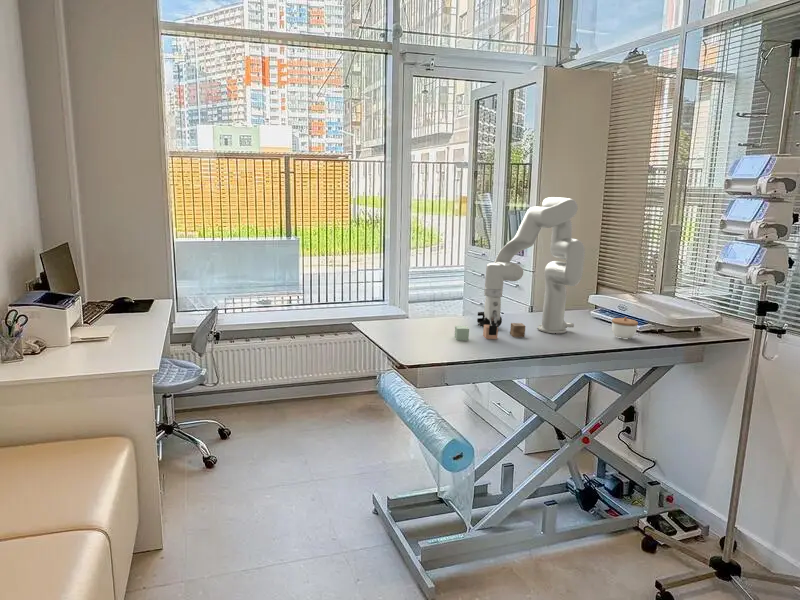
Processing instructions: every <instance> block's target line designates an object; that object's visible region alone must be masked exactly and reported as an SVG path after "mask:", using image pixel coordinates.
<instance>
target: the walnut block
mask: <svg viewBox="0 0 800 600" xmlns="http://www.w3.org/2000/svg"><path fill="white" fill-rule="evenodd" d="M509 334H510V335H511V336H512V337H514V338H525V335H526V325H525V324H524V323H521V322H511V323H510V331H509Z"/></svg>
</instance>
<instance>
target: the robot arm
mask: <svg viewBox="0 0 800 600" xmlns="http://www.w3.org/2000/svg"><path fill="white" fill-rule="evenodd" d="M578 207H579V206H578V203H577V201H576V200H575V199H573V198H569V197H568V198H567V197H560V196H559V197H557V196H556V197H555V196H551V197H550V196H548V197H546V198H544V199H543V200H542V203H541V206H536V205H535V206H531V207H529V208H528V209H527V210H526V213H524V216H523V218H522V221H521V222H520V225H519V227H518V229H517V231H516V234H515V235H514V237H513V238H512V239H510V240H509V241H507V243H506V244H505V245H504V246H503V247H502V248H501V249H500V250H499V252H498V254H497V256H496V257H495V261H494V262H489V263H487V264H486V271H485V280H484V281H485V283H484V292H483V296H485V301H484V310H483V312H484V315H485V317H484V325H489V335H496V334H497V323H498V321H499V320H500V316H501V311H502V310H501V308H502V307H501V306H502V304H501V303H502V301H501V300H502V299H501V298H502V297H503V291H504V282H505V281H508V282H517V281H519V280H521V279H522V277H523V276H524V268H523V267H522V266H521V265H520V264H518V263H514V262H511V261H512V259H513V258H514V257H515V256H516V255H517V254H518V253H519V252H521V251H525V250H527V249H529V248H531V247H533V246H534V244H535V241H536V240H537V238H538V236H539V233H540V231H541V229H542V228H543V229H544V228H545V229H550V228H551V238H550V246H549V247H550V248H549V252H550V255H551V257H554V258H557V259H560V260H565V261H560V260H553V261H549V262H548V263H547V264H546V265H545V267H544V273H543V274H544V295H543V307H542V318H541V324H540V325H538V326H537V330H539V331H540V332H543V333H547V334H555V333H556V334H565V333H566V332H567V328H574V327H575V324H574V322H573V323H572V322H571V323H570V322H566V321H565V310H566V303H567V302H566V301H567V287H566V286H568V287H575V286H577V285H578V284H579V283H580V282H581V280H582V277H583V272H584V266H585V265H584V264H585V257H586V256H585V255H586V250H585V249H586V248H585V245H584V243H583V242H582V241H581V240H580V239H577V238H573V237H572V236H573V235H572V232H573V224H572V220H571V219H572V218H574V217H575V216H576V214H577V213H578V209H579V208H578ZM497 320H498V321H497ZM492 321H493V322H492ZM482 328H483V329H484V326H483V327H482Z"/></svg>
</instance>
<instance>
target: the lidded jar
mask: <svg viewBox="0 0 800 600" xmlns="http://www.w3.org/2000/svg"><path fill="white" fill-rule="evenodd" d="M638 326H639V322H638V321H637V320H635V319H632V318H631V319H630V318H628V317H627V316H624V317H615V318H612V320H611V330H612V333H613V335H614V336H615V337H616V336H617V337H621V338H630V339H631V338H633V337H634V336H635V335H636V332H637V329H638Z"/></svg>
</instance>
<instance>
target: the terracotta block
mask: <svg viewBox="0 0 800 600" xmlns="http://www.w3.org/2000/svg"><path fill="white" fill-rule="evenodd" d="M498 335H499V327H497V334H496V335H489V325H484V329H483V332H482V337H484V339H485V338H486V339H485V340H487V339H488V340H498Z"/></svg>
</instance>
